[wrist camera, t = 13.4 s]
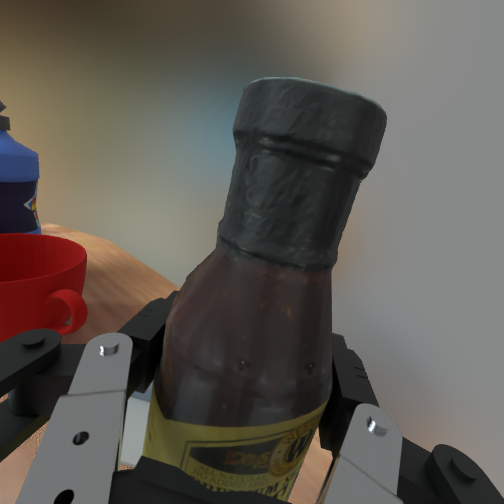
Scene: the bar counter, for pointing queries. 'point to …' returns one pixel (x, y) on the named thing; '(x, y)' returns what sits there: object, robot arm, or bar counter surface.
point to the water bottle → (17, 184)
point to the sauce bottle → (264, 293)
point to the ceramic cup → (40, 284)
